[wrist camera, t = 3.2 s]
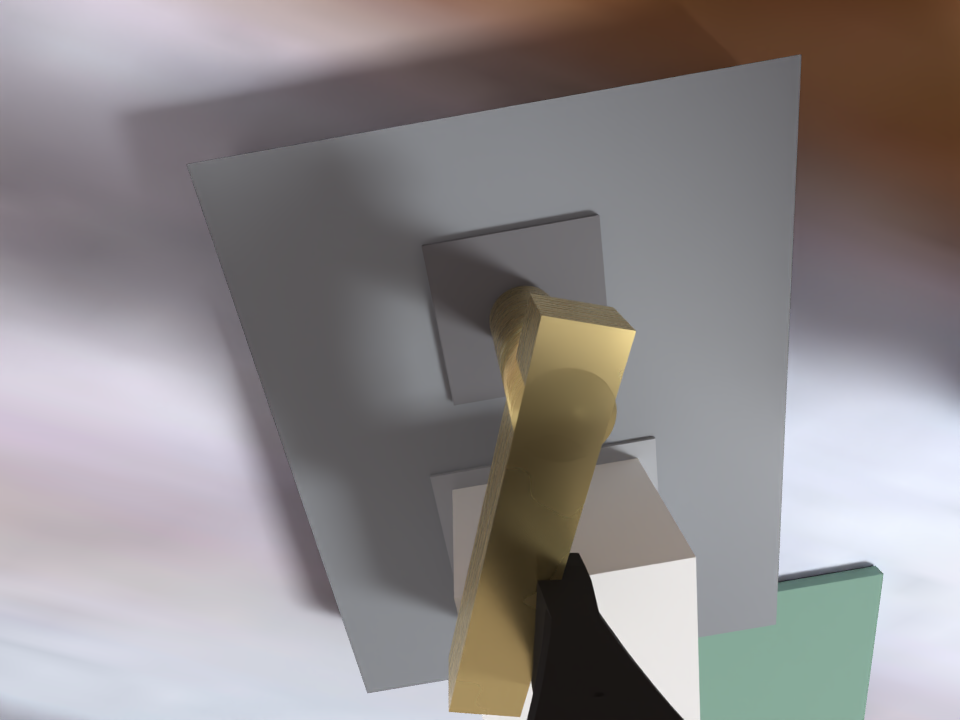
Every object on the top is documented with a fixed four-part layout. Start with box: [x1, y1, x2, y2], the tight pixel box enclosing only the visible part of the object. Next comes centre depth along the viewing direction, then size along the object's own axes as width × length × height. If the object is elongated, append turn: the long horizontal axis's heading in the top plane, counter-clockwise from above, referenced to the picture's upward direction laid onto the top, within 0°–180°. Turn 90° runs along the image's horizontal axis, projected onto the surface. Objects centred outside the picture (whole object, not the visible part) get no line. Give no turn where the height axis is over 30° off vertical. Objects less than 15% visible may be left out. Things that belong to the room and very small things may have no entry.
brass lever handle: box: [449, 286, 636, 717], centre depth 12 cm, size 2×8×5 cm, turn 169°
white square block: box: [452, 458, 700, 720], centre depth 14 cm, size 5×5×4 cm
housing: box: [187, 54, 801, 693], centre depth 16 cm, size 13×16×3 cm
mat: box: [698, 566, 883, 720], centre depth 22 cm, size 9×9×1 cm
